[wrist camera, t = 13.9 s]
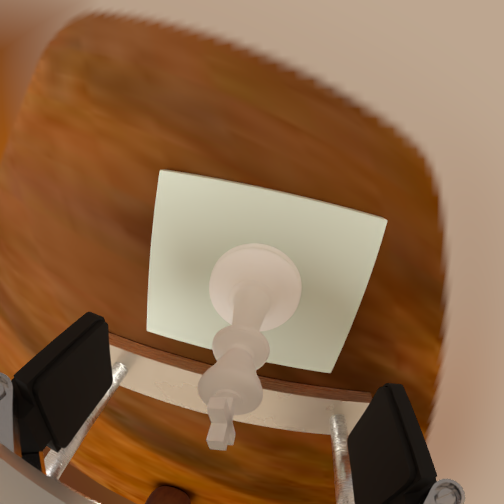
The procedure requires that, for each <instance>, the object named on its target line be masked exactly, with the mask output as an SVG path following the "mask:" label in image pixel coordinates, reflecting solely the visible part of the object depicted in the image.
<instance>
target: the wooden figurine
mask: <svg viewBox="0 0 504 504" xmlns="http://www.w3.org/2000/svg"><path fill="white" fill-rule="evenodd" d="M145 504H191V503H190V498H189V497H188V495H187V494H186V493H185V492H183V491H181V490H179V489H176V488H174V487H170V486H161V487H158V488H156V489H155V490H154V491H153V492H152V493H151V495H150V496H149V497H148V499H147V501H146V503H145Z"/></svg>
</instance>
